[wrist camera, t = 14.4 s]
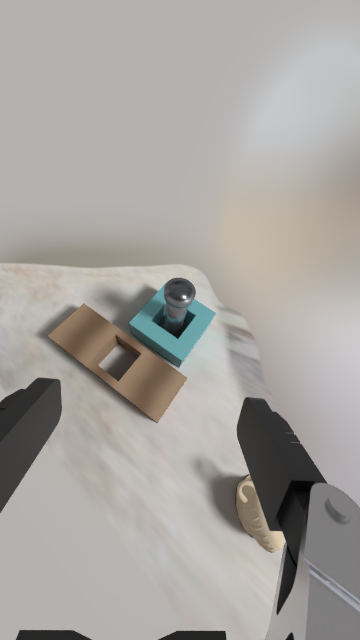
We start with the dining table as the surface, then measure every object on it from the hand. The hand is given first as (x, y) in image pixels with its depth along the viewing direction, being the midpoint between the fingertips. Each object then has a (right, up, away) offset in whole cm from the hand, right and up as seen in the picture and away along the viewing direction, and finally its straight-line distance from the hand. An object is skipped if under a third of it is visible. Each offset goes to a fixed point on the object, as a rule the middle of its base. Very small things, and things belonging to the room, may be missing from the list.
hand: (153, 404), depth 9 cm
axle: (0, +2, +28) cm, 28 cm away
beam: (-8, -3, +25) cm, 26 cm away
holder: (0, +2, +28) cm, 29 cm away
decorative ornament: (+10, -21, +19) cm, 30 cm away
